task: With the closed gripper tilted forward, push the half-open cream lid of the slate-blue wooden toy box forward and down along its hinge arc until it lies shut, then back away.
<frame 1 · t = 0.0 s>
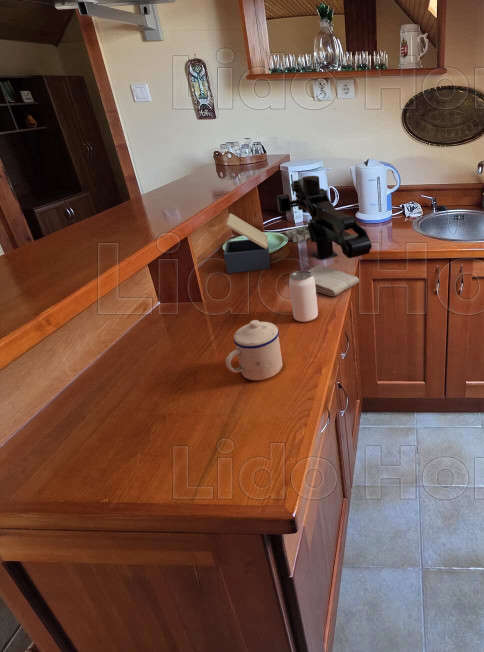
hand: (294, 196, 163), 17 cm above the table, tool horizontal, fingers open, 9 cm apart
toy box: (249, 264, 145), on the table
lid: (247, 230, 140), point 12 cm above the table, hinge at 40.0°
teacup with lid: (256, 372, 90), on the table
can: (306, 317, 111), on the table
egg carton: (301, 238, 168), on the table
washcloth: (326, 284, 129), on the table
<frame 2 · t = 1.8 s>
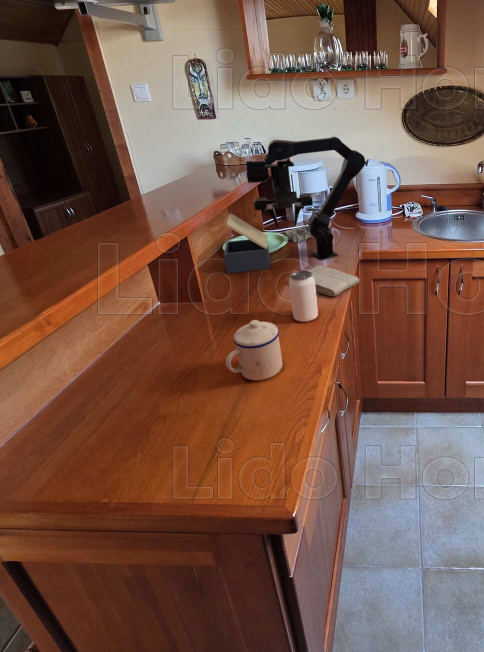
hand: (286, 226, 143), 12 cm above the table, tool pointing down, fingers open, 6 cm apart
nothing on the table moved.
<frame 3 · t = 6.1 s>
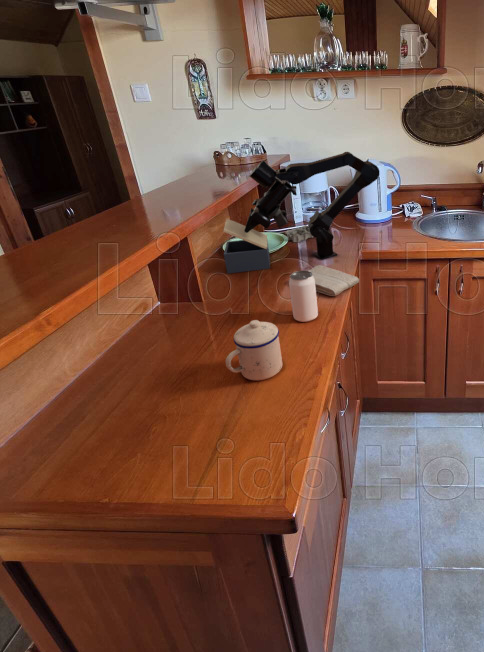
hand: (245, 231, 140), 12 cm above the table, tool tilted 45°, fingers closed, pressing on lid
lid: (246, 233, 140), point 11 cm above the table, hinge at 31.1°, touching gripper
everything else where it was.
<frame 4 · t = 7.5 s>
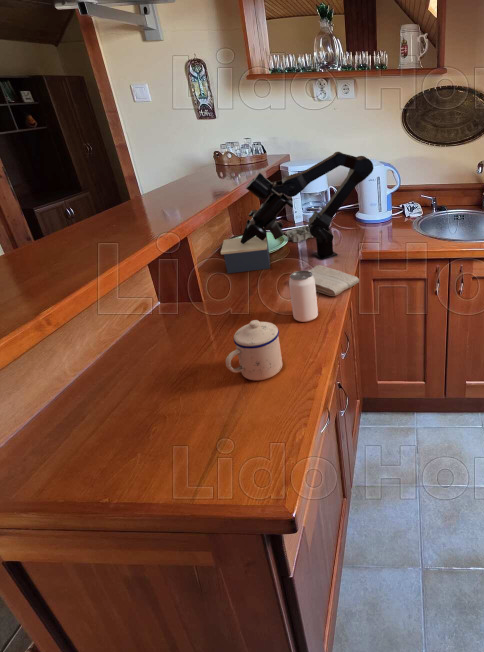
hand: (241, 242, 141), 8 cm above the table, tool tilted 45°, fingers closed, pressing on lid
lid: (244, 244, 142), point 7 cm above the table, hinge at -0.2°, touching gripper, toy box
everything else where it was.
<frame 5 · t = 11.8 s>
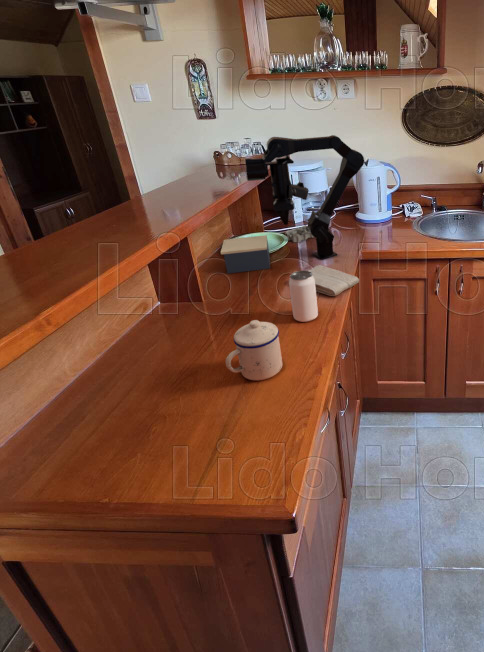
hand: (286, 224, 142), 13 cm above the table, tool pointing down, fingers closed
lid: (244, 244, 142), point 7 cm above the table, hinge at -0.2°, touching toy box
everything else where it was.
at the end: lid at +0° (first picture: +40°); egg carton moved 0.2 cm from its start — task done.
